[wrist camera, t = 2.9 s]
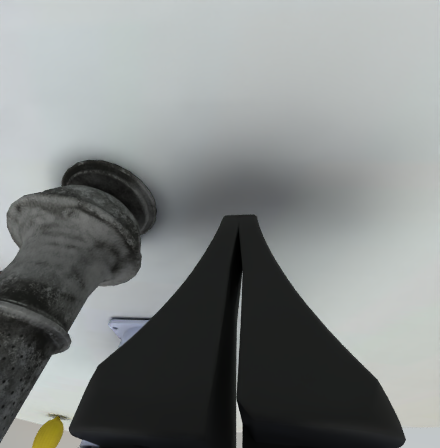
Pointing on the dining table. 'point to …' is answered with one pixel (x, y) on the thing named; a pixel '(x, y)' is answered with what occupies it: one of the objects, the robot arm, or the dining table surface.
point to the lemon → (49, 434)
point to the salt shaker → (64, 266)
